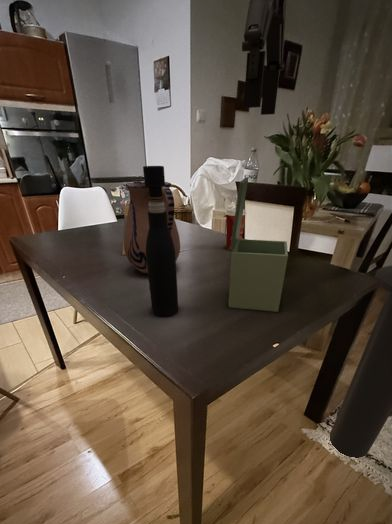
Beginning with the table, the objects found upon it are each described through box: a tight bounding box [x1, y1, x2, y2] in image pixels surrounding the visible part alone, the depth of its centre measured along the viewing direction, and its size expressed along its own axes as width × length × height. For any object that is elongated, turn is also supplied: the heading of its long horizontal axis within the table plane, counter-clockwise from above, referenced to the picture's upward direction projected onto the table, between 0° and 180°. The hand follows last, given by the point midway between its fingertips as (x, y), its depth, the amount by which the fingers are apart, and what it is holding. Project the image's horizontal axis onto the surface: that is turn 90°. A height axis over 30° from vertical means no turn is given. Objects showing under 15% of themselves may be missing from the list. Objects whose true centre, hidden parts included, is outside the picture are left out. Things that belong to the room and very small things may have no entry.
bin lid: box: [229, 177, 249, 251], centre depth 63 cm, size 13×12×1 cm
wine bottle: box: [142, 165, 179, 318], centre depth 61 cm, size 6×6×30 cm
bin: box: [227, 238, 289, 313], centre depth 70 cm, size 12×12×14 cm
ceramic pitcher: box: [123, 180, 181, 274], centre depth 85 cm, size 18×21×25 cm
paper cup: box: [225, 207, 247, 252], centre depth 108 cm, size 8×8×14 cm
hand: (260, 111), depth 53 cm, fingers open, 13 cm apart
